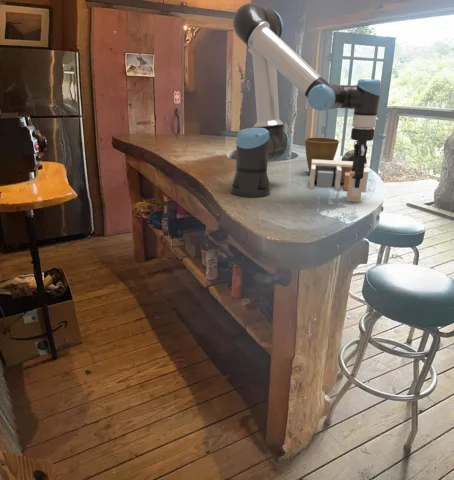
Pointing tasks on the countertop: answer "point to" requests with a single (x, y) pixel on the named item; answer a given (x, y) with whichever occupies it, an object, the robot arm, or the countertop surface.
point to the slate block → (324, 178)
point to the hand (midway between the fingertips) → (354, 194)
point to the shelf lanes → (335, 171)
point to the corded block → (348, 186)
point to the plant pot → (320, 149)
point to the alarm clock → (350, 156)
